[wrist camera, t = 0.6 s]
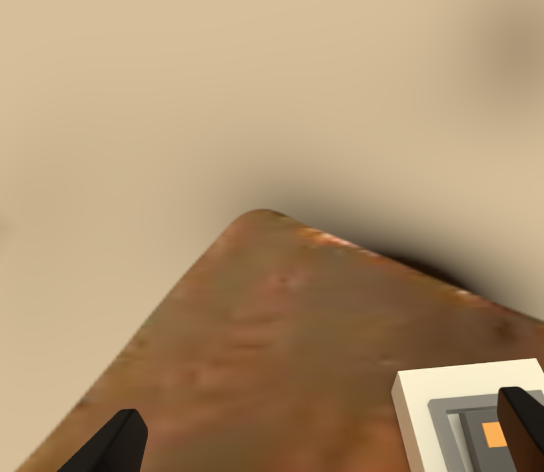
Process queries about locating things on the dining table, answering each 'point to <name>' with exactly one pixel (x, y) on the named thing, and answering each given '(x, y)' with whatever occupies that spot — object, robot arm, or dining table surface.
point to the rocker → (486, 442)
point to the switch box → (453, 407)
